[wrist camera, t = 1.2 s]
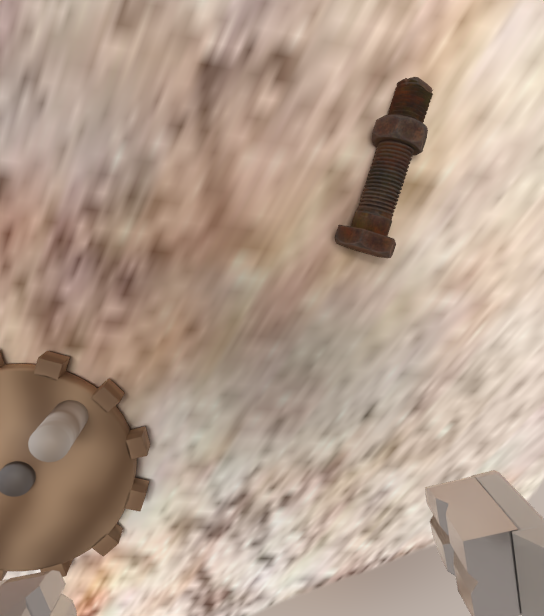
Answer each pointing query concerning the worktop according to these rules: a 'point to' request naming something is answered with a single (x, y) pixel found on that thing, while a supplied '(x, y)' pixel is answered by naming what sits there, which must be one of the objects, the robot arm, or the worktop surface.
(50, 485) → the turntable
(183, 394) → the worktop surface
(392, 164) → the bolt
